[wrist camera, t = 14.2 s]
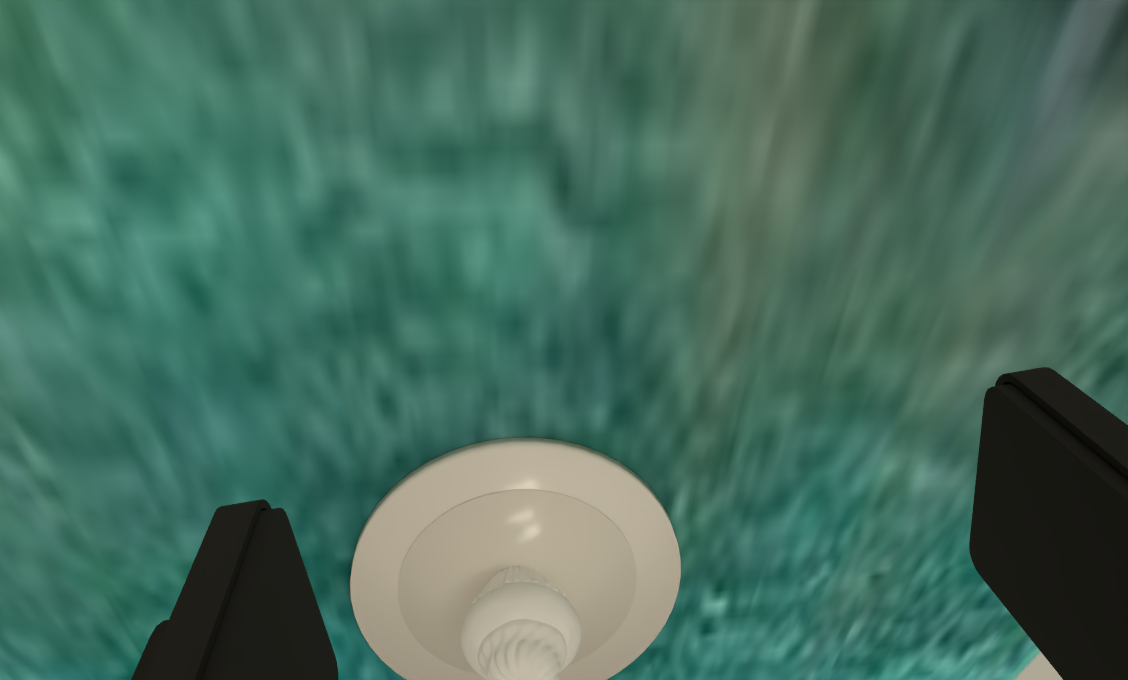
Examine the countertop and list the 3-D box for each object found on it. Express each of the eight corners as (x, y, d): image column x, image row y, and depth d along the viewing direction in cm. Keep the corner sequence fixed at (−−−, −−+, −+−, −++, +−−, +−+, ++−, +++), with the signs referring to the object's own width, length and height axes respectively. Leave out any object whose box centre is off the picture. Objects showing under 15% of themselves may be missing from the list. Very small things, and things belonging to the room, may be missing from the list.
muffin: (542, 643, 48) (554, 749, 42) (442, 613, 47) (439, 719, 40) (593, 562, 46) (613, 662, 40) (490, 528, 45) (494, 626, 38)
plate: (664, 410, 44) (669, 422, 43) (687, 663, 52) (691, 678, 51) (314, 469, 43) (311, 483, 42) (392, 716, 51) (390, 733, 50)
